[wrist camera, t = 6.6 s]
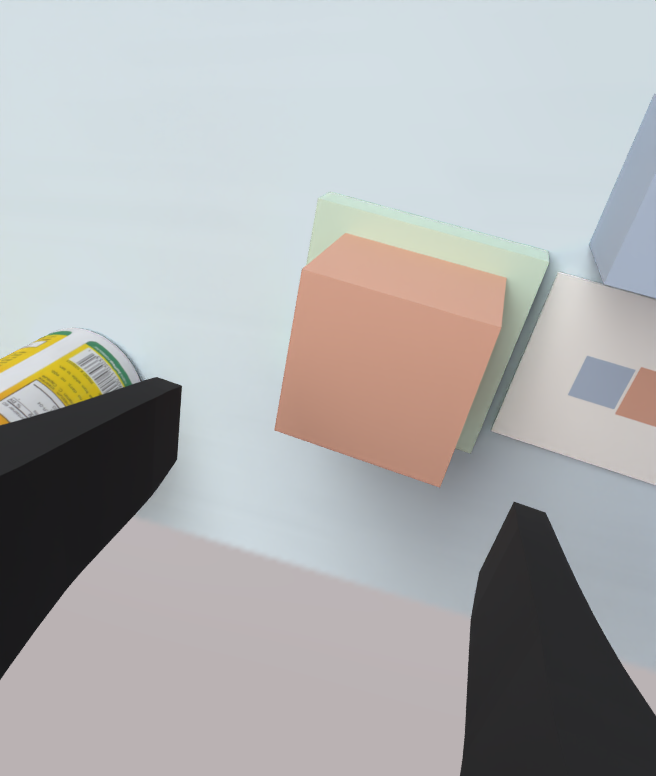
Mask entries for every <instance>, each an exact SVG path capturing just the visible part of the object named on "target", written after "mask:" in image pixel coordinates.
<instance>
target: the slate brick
mask: <svg viewBox="0 0 656 776" xmlns="http://www.w3.org/2000/svg"><path fill="white" fill-rule="evenodd" d="M589 246H590V248H591V251H592V254H593V256H594V259H595V262H596V264H597V267H598V270H599V272H600V275H601V278H602V280H603V283H604V284H605V285H609V286H613V287H617V288H620V289H624V290H628V291H631V292H635V293H639V294H642V295H646V296H650V297H653V298H656V94H654V95H653V98H652V100H651V102H650V104H649V107H648V109H647V111H646V114H645V116H644V118H643V121H642V123H641V125H640V128H639V130H638V132H637V134H636V137H635V139H634V141H633V144H632V146H631V148H630V151H629V153H628V155H627V158H626V160H625V162H624V164H623V167H622V169H621V171H620V174H619V176H618V178H617V181H616V183H615V185H614V188H613V190H612V192H611V194H610V197H609V199H608V201H607V204H606V206H605V208H604V211H603V213H602V215H601V218H600V220H599V222H598V224H597V227H596V229H595V231H594V234H593V236H592V238H591V241H590V243H589Z"/></svg>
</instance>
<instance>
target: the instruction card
mask: <svg viewBox="0 0 656 776" xmlns="http://www.w3.org/2000/svg"><path fill="white" fill-rule="evenodd" d="M491 431H492V432H495V433H498V434H501V435H504V436H507V437H510V438H513V439H516V440H519V441H522V442H525V443H528V444H531V445H534V446H537V447H540V448H543V449H547V450H550V451H553V452H556V453H559V454H562V455H565V456H568V457H571V458H574V459H577V460H580V461H583V462H586V463H589V464H592V465H595V466H598V467H601V468H604V469H607V470H610V471H614V472H617V473H620V474H623V475H626V476H629V477H632V478H635V479H638V480H641V481H644V482H647V483H650V484H653V485H656V298H652V297H648V296H645V295H641V294H638V293H634V292H630V291H627V290H623V289H620V288H616V287H612V286H609V285H605V284H602V283H598V282H594V281H591V280H587V279H584V278H580V277H576V276H573V275H569V274H565V273H562V272H558V273H557V275H556V278H555V280H554V282H553V285H552V287H551V290H550V292H549V294H548V297H547V299H546V301H545V304H544V306H543V308H542V311H541V313H540V316H539V318H538V320H537V323H536V325H535V327H534V330H533V332H532V334H531V337H530V339H529V342H528V344H527V346H526V349H525V351H524V353H523V356H522V358H521V360H520V363H519V365H518V368H517V370H516V372H515V375H514V377H513V379H512V382H511V384H510V386H509V389H508V391H507V394H506V396H505V398H504V401H503V403H502V405H501V408H500V410H499V412H498V415H497V417H496V419H495V422H494V424H493V427H492V429H491Z"/></svg>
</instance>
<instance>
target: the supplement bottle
mask: <svg viewBox="0 0 656 776" xmlns="http://www.w3.org/2000/svg"><path fill="white" fill-rule="evenodd" d="M138 382H140V379H139V377H138V374H137V372H136V370H135V368H134V367H133V365H132V363H131V362H130V360H129V359H128V358H127V357H126V355H125V354H124V353H123V352H122V351H121V350H120V349H119V348H118V347H117V346H116V345H114V344H113V343H112V342H111V341H109V340H108V339H106V338H105V337H103V336H101V335H99V334H97V333H94V332H92V331H89V330H85V329H80V328H65V329H61V330H57V331H55V332H52V333H50V334H48V335H47V336H44V337H42V338H40V339H38V340H37V341H35V342H33V343H31V344H29V345H27V346H25V347H23V348H21V349H19V350H17V351H15V352H13V353H11V354H9V355H7V356H6V357H4V358H2V359H0V425H3V424H7V423H11V422H15V421H18V420H21V419H25V418H28V417H32V416H35V415H39V414H42V413H46V412H49V411H52V410H56V409H59V408H63V407H66V406H69V405H72V404H75V403H78V402H81V401H84V400H87V399H90V398H93V397H96V396H99V395H102V394H105V393H108V392H111V391H114V390H117V389H120V388H123V387H126V386H129V385H132V384H135V383H138Z"/></svg>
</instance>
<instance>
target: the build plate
mask: <svg viewBox="0 0 656 776" xmlns="http://www.w3.org/2000/svg"><path fill="white" fill-rule="evenodd" d="M345 233H348V234H352V235H355V236H359V237H362V238H366V239H370V240H373V241H377V242H380V243H384V244H387V245H391V246H395V247H398V248H402V249H405V250H409V251H412V252H416V253H420V254H423V255H427V256H430V257H434V258H438V259H441V260H445V261H448V262H452V263H455V264H459V265H463V266H466V267H470V268H473V269H477V270H481V271H484V272H488V273H491V274H495V275H498V276H502V277H506V278H507V279H506V288H505V298H504V308H503V318H502V327H501V330H500V333H499V335H498V338H497V341H496V343H495V346H494V348H493V351H492V354H491V356H490V359H489V361H488V364H487V367H486V369H485V372H484V374H483V377H482V380H481V382H480V385H479V387H478V390H477V393H476V395H475V398H474V400H473V403H472V406H471V408H470V411H469V413H468V416H467V419H466V421H465V424H464V426H463V429H462V432H461V434H460V437H459V439H458V442H457V445H456V447H455V449H458V450H461V451H464V452H467V453H470V454H471V452H472V449H473V447H474V444H475V442H476V439H477V437H478V435H479V432H480V430H481V427H482V425H483V422H484V420H485V417H486V415H487V413H488V410H489V408H490V405H491V403H492V400H493V398H494V396H495V393H496V391H497V388H498V386H499V383H500V381H501V379H502V376H503V374H504V371H505V369H506V366H507V364H508V361H509V359H510V357H511V354H512V352H513V349H514V347H515V344H516V342H517V340H518V337H519V335H520V332H521V330H522V327H523V325H524V323H525V320H526V318H527V315H528V313H529V310H530V308H531V306H532V303H533V301H534V298H535V296H536V293H537V291H538V288H539V286H540V284H541V281H542V279H543V276H544V274H545V271H546V269H547V267H548V264H549V254H548V251H546V250H542V249H538V248H535V247H531V246H527V245H524V244H520V243H516V242H513V241H509V240H505V239H502V238H498V237H494V236H491V235H487V234H483V233H480V232H476V231H472V230H468V229H465V228H461V227H457V226H454V225H450V224H446V223H443V222H439V221H435V220H432V219H428V218H424V217H421V216H417V215H413V214H410V213H406V212H402V211H399V210H395V209H391V208H388V207H384V206H380V205H377V204H373V203H369V202H366V201H362V200H358V199H355V198H351V197H347V196H344V195H340V194H336V193H333V192H328V193H327V194H325V195H323V196H321V197H319V198H318V202H317V208H316V213H315V219H314V224H313V230H312V236H311V241H310V247H309V252H308V258H307V264H309V263H310V262H311V261H312V260H313V259H315V258H316V257H317V256H318V255H319V254H321V253H322V252H323V251H324V250H325V249H327V248H328V247H329V246H330V245H331V244H333V243H334V242H335V241H336V240H337V239H339V238H340V237H341V236H342V235H343V234H345ZM307 264H306V265H307Z"/></svg>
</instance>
